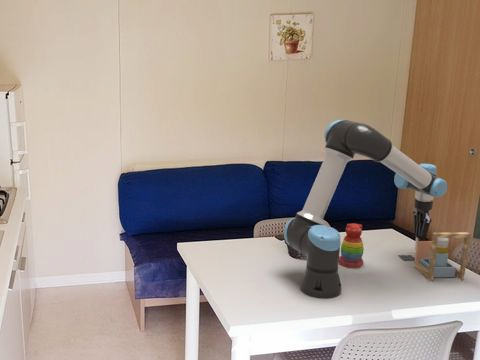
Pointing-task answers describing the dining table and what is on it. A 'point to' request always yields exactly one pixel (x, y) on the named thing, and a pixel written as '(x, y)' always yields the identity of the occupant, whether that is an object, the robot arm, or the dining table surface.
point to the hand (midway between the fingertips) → (418, 251)
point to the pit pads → (407, 257)
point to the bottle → (441, 253)
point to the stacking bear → (352, 247)
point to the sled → (423, 258)
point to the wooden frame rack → (458, 273)
